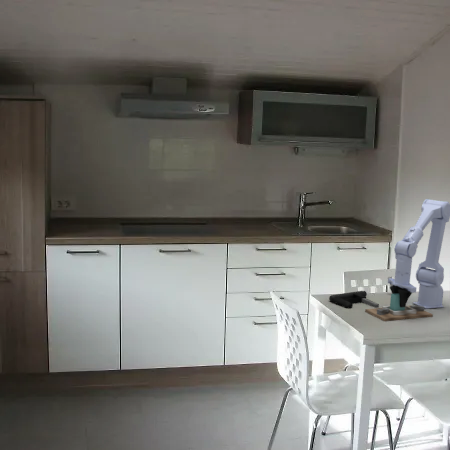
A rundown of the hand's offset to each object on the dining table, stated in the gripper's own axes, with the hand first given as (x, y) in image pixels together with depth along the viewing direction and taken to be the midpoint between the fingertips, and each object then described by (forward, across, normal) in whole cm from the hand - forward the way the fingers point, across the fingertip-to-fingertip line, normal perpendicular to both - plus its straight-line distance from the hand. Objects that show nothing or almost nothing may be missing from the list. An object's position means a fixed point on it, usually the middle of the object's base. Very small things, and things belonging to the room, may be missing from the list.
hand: (399, 305), depth 233 cm
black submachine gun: (+4, -17, -8) cm, 19 cm away
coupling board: (+3, 0, 0) cm, 3 cm away
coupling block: (+2, 0, -1) cm, 3 cm away
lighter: (+4, -24, +17) cm, 29 cm away
